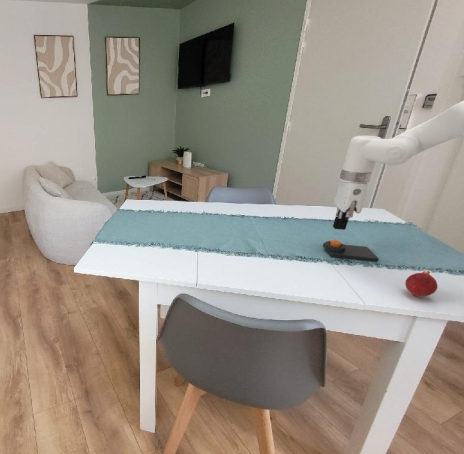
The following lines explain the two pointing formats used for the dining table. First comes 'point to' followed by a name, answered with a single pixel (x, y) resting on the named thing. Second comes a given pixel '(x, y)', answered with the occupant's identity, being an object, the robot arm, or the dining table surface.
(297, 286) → the dining table surface
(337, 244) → the tare button
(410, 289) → the onion
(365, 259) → the scale
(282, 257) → the dining table surface
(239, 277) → the dining table surface
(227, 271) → the dining table surface
